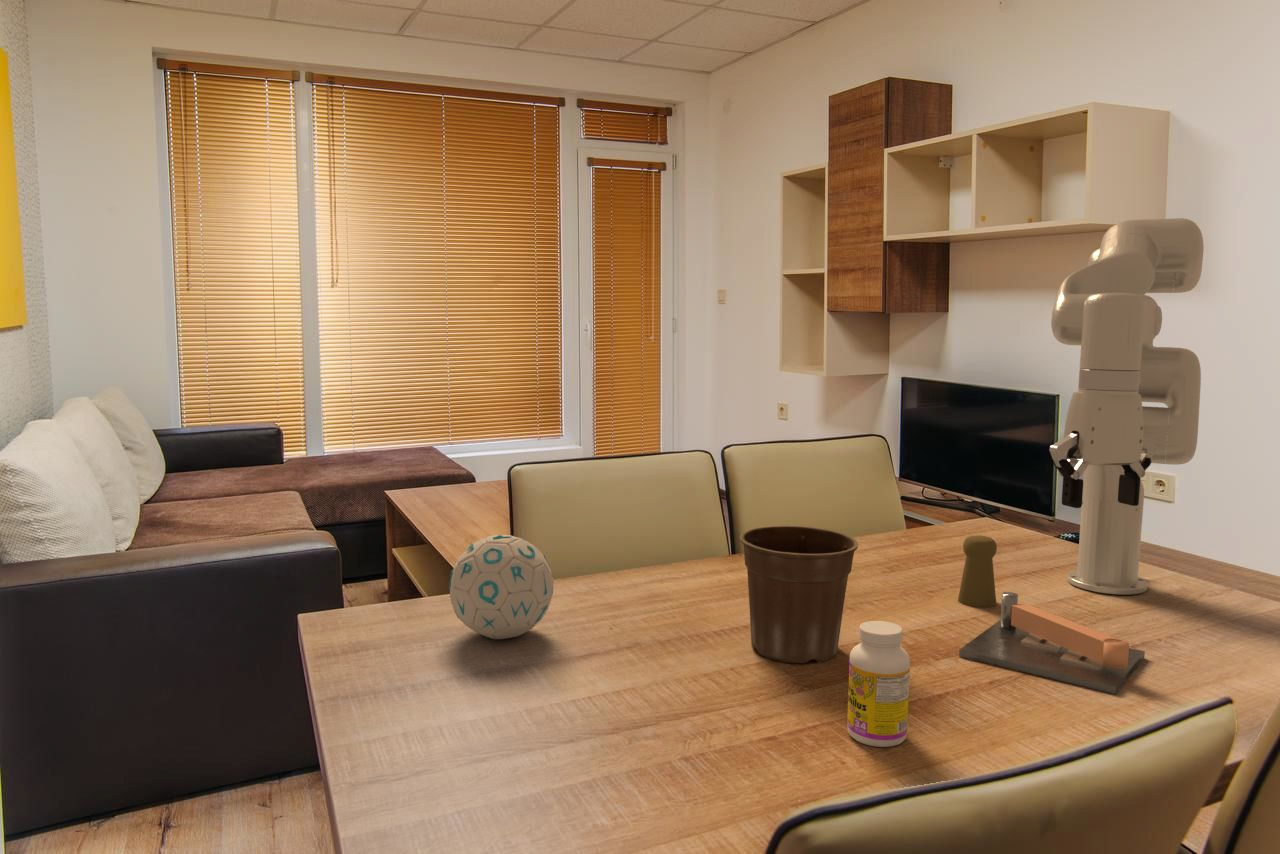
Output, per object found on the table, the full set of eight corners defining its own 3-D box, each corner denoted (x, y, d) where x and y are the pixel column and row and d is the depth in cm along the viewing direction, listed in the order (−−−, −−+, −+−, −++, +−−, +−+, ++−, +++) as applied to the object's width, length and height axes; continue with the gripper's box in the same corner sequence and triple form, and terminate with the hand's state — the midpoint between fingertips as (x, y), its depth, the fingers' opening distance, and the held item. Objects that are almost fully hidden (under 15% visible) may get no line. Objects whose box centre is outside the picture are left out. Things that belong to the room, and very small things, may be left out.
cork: (999, 608, 153) (1003, 542, 151) (960, 606, 154) (963, 540, 153) (993, 597, 159) (996, 533, 157) (955, 595, 160) (958, 531, 158)
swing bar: (1009, 625, 139) (1010, 605, 139) (1025, 622, 140) (1026, 603, 140) (1115, 670, 122) (1117, 647, 122) (1132, 667, 123) (1134, 644, 123)
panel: (998, 626, 144) (1000, 588, 144) (1144, 658, 132) (1147, 616, 131) (959, 656, 132) (961, 615, 131) (1115, 694, 119) (1118, 648, 119)
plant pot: (860, 636, 140) (864, 530, 138) (846, 677, 125) (850, 558, 123) (751, 624, 145) (753, 521, 143) (726, 661, 130) (728, 547, 128)
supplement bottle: (839, 724, 111) (843, 617, 109) (894, 722, 111) (899, 616, 110) (857, 750, 104) (861, 638, 103) (915, 748, 105) (920, 636, 103)
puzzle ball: (430, 635, 140) (427, 536, 138) (509, 611, 150) (508, 519, 149) (494, 662, 129) (492, 555, 127) (575, 634, 140) (574, 535, 138)
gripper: (1137, 382, 137) (1128, 498, 139) (1037, 381, 132) (1029, 502, 134) (1180, 385, 130) (1170, 508, 132) (1077, 384, 125) (1068, 512, 127)
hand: (1099, 505), depth 133 cm, fingers open, 9 cm apart
